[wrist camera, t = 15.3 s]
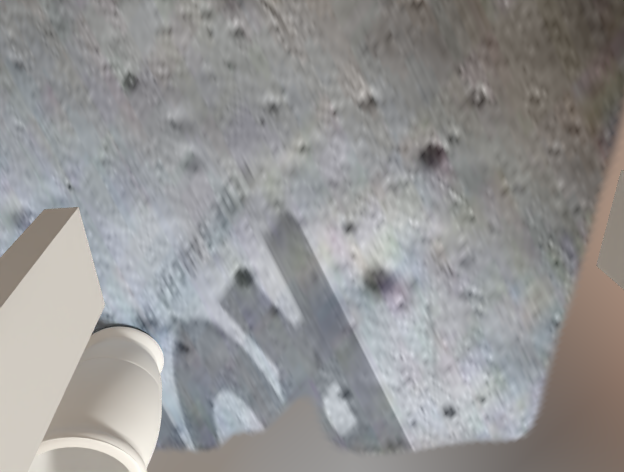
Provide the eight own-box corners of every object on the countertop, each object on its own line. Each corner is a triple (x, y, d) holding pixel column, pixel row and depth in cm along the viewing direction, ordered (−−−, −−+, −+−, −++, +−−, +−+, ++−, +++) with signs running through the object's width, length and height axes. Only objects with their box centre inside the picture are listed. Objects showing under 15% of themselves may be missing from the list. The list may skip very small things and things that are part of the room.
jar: (141, 408, 56) (104, 543, 43) (51, 368, 53) (-19, 501, 39) (194, 346, 53) (172, 471, 40) (102, 298, 49) (45, 418, 36)
